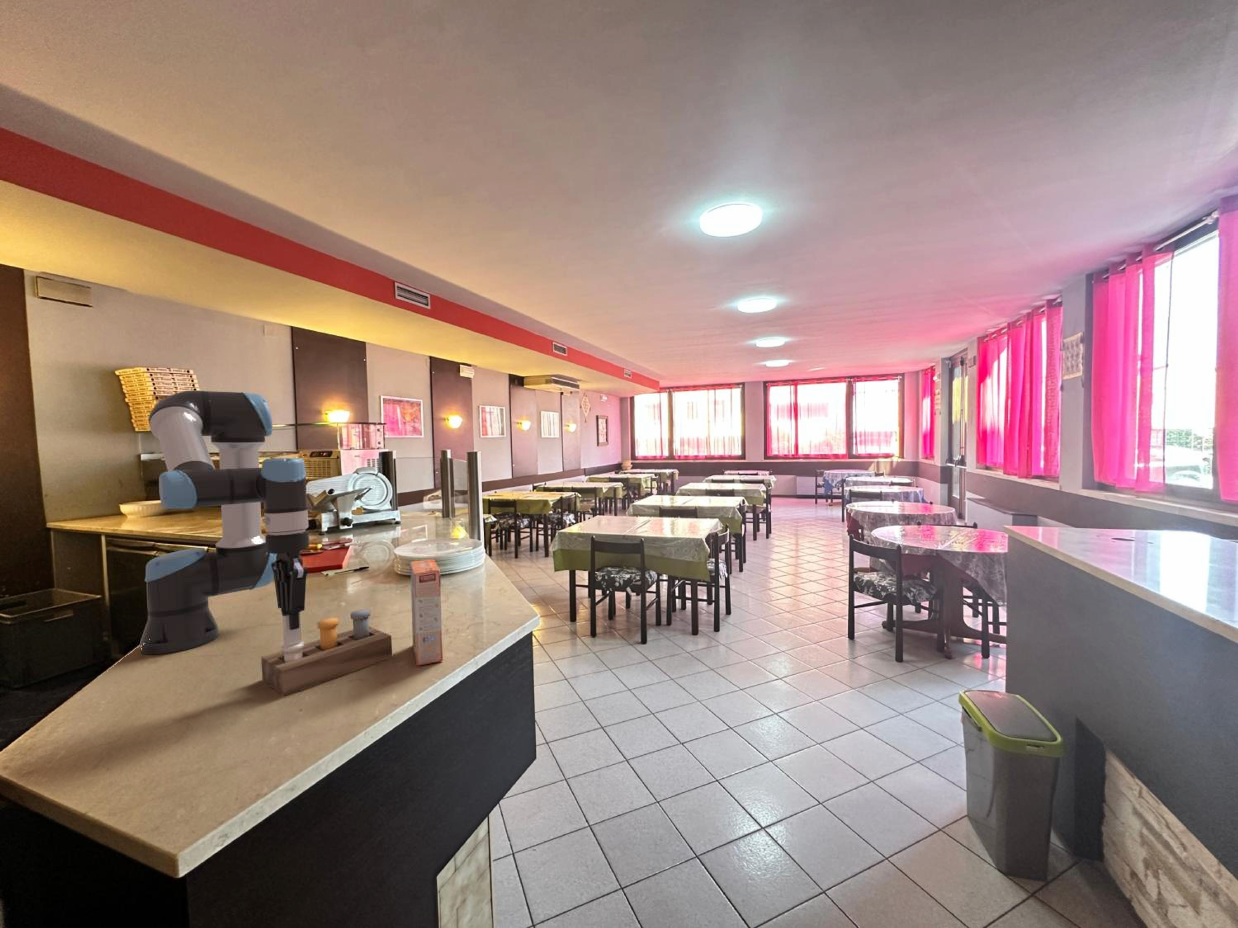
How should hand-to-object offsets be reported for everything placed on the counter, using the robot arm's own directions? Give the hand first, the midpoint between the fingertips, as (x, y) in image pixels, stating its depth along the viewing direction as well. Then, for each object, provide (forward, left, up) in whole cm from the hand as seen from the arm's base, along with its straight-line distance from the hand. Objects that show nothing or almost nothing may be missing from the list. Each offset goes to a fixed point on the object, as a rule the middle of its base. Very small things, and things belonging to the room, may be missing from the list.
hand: (292, 643), depth 105 cm
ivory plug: (0, 0, -7) cm, 7 cm away
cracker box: (+11, +24, -8) cm, 28 cm away
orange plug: (0, +7, -4) cm, 8 cm away
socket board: (0, +7, -8) cm, 11 cm away
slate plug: (0, +14, -4) cm, 15 cm away
